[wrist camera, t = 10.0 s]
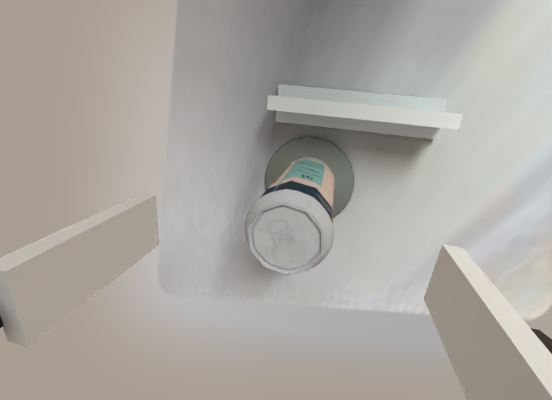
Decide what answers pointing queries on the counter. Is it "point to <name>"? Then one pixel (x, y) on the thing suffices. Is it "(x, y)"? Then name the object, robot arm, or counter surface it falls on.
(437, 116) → the divider
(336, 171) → the coaster
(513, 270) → the counter surface
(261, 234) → the beer can
